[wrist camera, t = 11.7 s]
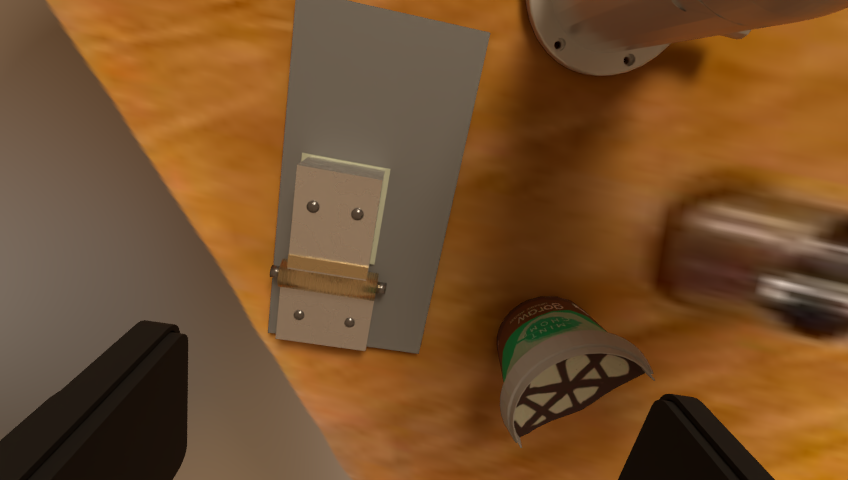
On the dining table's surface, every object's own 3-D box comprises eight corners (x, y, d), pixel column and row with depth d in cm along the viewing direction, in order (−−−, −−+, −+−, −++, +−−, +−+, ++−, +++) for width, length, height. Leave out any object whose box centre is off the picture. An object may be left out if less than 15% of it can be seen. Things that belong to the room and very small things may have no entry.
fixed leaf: (388, 270, 37) (387, 282, 35) (375, 344, 40) (373, 360, 37) (277, 252, 36) (268, 263, 34) (270, 330, 39) (262, 345, 36)
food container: (574, 260, 39) (629, 315, 29) (602, 309, 40) (662, 377, 31) (459, 325, 40) (475, 398, 31) (490, 370, 42) (514, 451, 33)
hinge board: (487, 34, 32) (490, 32, 31) (418, 347, 41) (418, 355, 40) (300, -8, 30) (295, -12, 29) (271, 326, 40) (267, 333, 38)
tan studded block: (384, 169, 34) (382, 180, 30) (370, 261, 36) (366, 281, 33) (309, 156, 33) (296, 165, 29) (299, 249, 36) (286, 269, 32)
